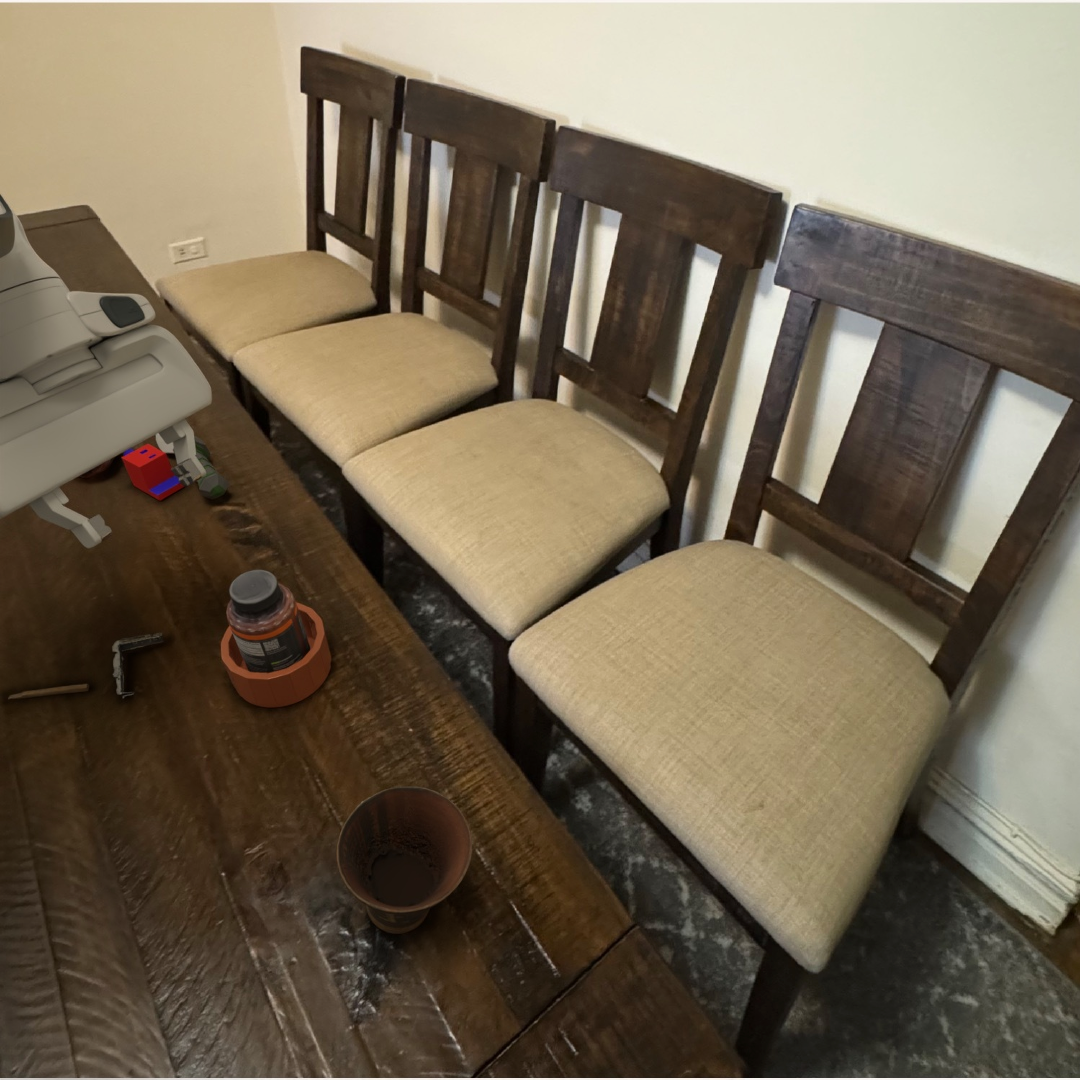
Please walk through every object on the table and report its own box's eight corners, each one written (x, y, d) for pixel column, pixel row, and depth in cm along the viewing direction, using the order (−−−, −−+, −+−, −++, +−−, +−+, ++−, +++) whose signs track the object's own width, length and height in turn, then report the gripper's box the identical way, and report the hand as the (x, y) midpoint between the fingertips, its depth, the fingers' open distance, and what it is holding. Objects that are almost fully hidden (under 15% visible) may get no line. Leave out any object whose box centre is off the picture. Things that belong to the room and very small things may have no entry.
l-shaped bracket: (181, 647, 74) (139, 630, 74) (178, 638, 73) (135, 621, 74) (128, 704, 69) (83, 685, 69) (124, 695, 68) (79, 677, 68)
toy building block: (148, 472, 86) (107, 449, 89) (160, 500, 89) (119, 477, 92) (175, 457, 88) (133, 436, 91) (185, 486, 91) (145, 464, 94)
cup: (496, 918, 56) (495, 861, 49) (386, 989, 52) (368, 939, 45) (442, 822, 61) (434, 759, 54) (339, 881, 58) (316, 821, 51)
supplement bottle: (285, 631, 75) (259, 550, 67) (326, 660, 72) (304, 580, 64) (235, 669, 71) (202, 589, 63) (277, 701, 69) (247, 621, 61)
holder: (290, 722, 68) (280, 693, 64) (212, 685, 70) (198, 656, 67) (350, 650, 74) (343, 621, 71) (275, 619, 76) (266, 589, 73)
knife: (129, 409, 98) (159, 385, 99) (153, 428, 101) (182, 405, 102) (184, 500, 85) (219, 471, 86) (209, 519, 89) (242, 491, 89)
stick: (5, 697, 68) (7, 691, 69) (8, 701, 68) (10, 696, 69) (86, 687, 69) (88, 681, 70) (88, 691, 69) (90, 686, 70)
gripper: (-110, 386, 43) (51, 579, 48) (161, 290, 58) (262, 442, 63) (-143, 418, 46) (10, 594, 51) (121, 319, 62) (220, 461, 67)
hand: (151, 509), depth 57 cm, fingers open, 8 cm apart
